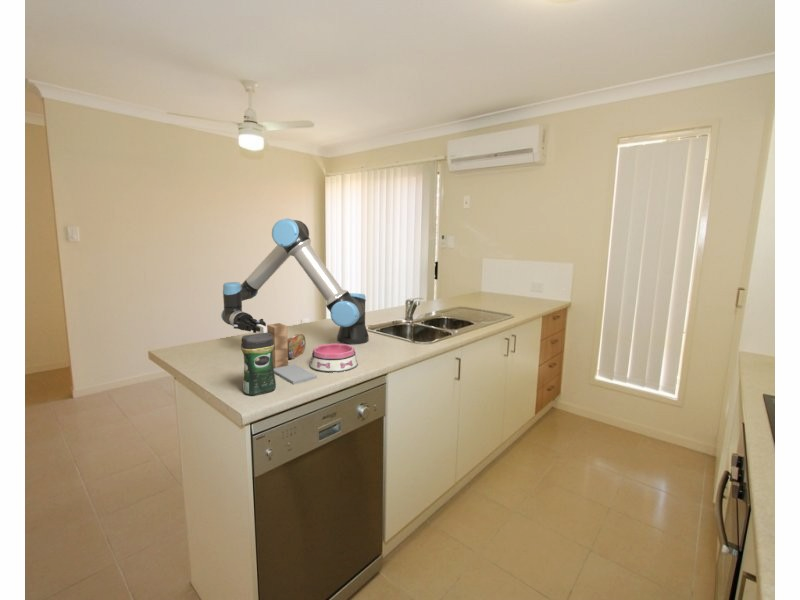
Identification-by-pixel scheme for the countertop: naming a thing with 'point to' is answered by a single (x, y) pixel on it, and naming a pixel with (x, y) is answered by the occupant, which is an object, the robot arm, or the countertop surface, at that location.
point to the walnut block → (279, 344)
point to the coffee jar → (258, 363)
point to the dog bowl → (333, 358)
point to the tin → (296, 345)
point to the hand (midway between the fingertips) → (265, 330)
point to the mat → (294, 374)
